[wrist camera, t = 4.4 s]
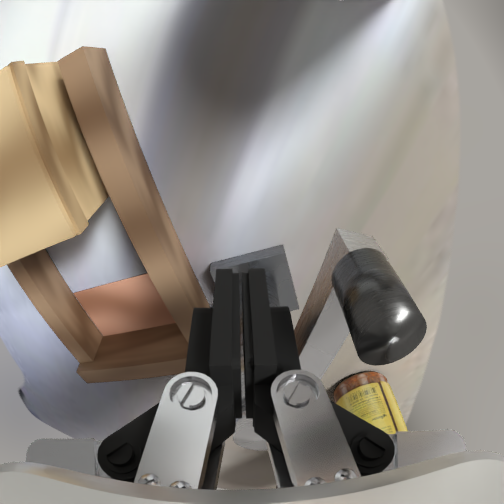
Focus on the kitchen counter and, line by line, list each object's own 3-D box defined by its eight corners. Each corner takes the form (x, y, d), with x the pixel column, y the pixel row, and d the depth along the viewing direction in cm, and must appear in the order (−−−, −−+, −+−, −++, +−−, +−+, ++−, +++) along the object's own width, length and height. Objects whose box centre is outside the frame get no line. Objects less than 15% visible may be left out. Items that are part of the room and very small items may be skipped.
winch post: (210, 263, 22) (197, 389, 13) (282, 244, 21) (310, 368, 13) (233, 315, 24) (233, 434, 16) (297, 299, 24) (322, 418, 15)
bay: (-23, 135, 15) (-58, 152, 12) (105, 48, 14) (73, 45, 10) (98, 349, 26) (87, 383, 23) (220, 328, 25) (218, 367, 22)
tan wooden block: (-9, 113, 14) (-68, 137, 9) (68, 58, 14) (7, 62, 9) (38, 224, 19) (-6, 271, 14) (118, 190, 18) (78, 237, 13)
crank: (304, 213, 8) (341, 304, 5) (400, 235, 9) (462, 317, 6) (227, 424, 14) (227, 490, 11) (288, 428, 15) (295, 490, 12)
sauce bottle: (321, 399, 32) (351, 569, 15) (350, 365, 28) (399, 559, 12) (368, 401, 33) (407, 552, 16) (399, 369, 30) (455, 535, 13)
